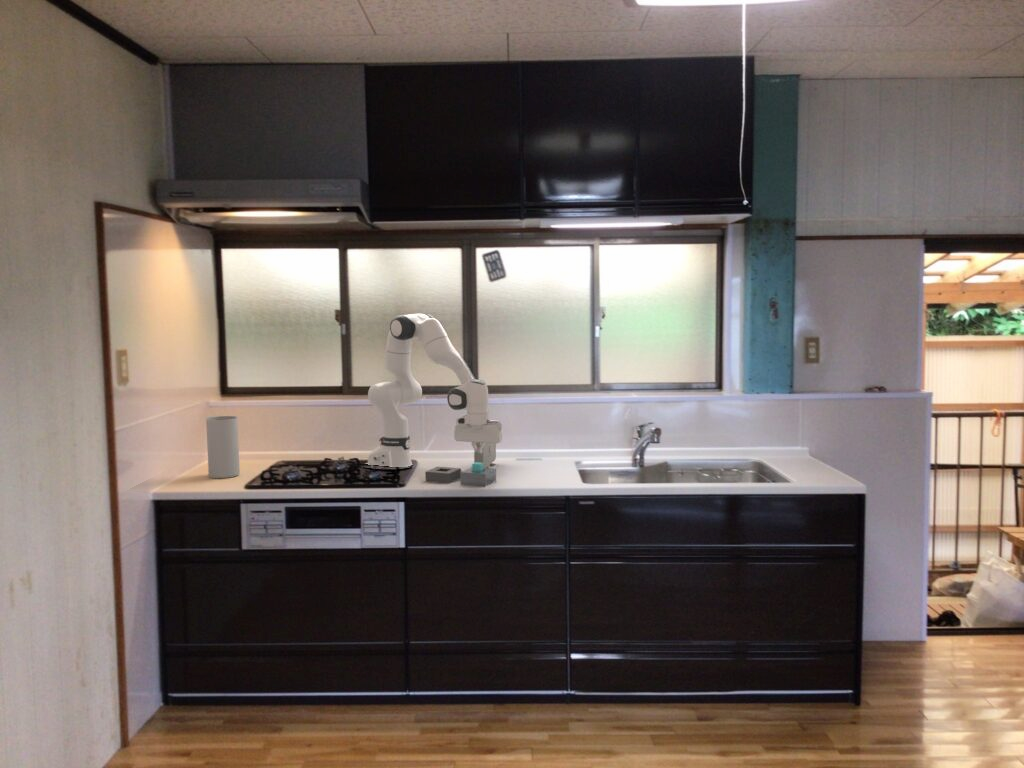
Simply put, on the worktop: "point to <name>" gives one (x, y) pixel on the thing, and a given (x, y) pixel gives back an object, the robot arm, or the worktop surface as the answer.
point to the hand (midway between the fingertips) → (478, 453)
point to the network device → (486, 455)
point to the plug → (478, 467)
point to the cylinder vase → (223, 446)
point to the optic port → (478, 477)
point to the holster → (443, 474)
